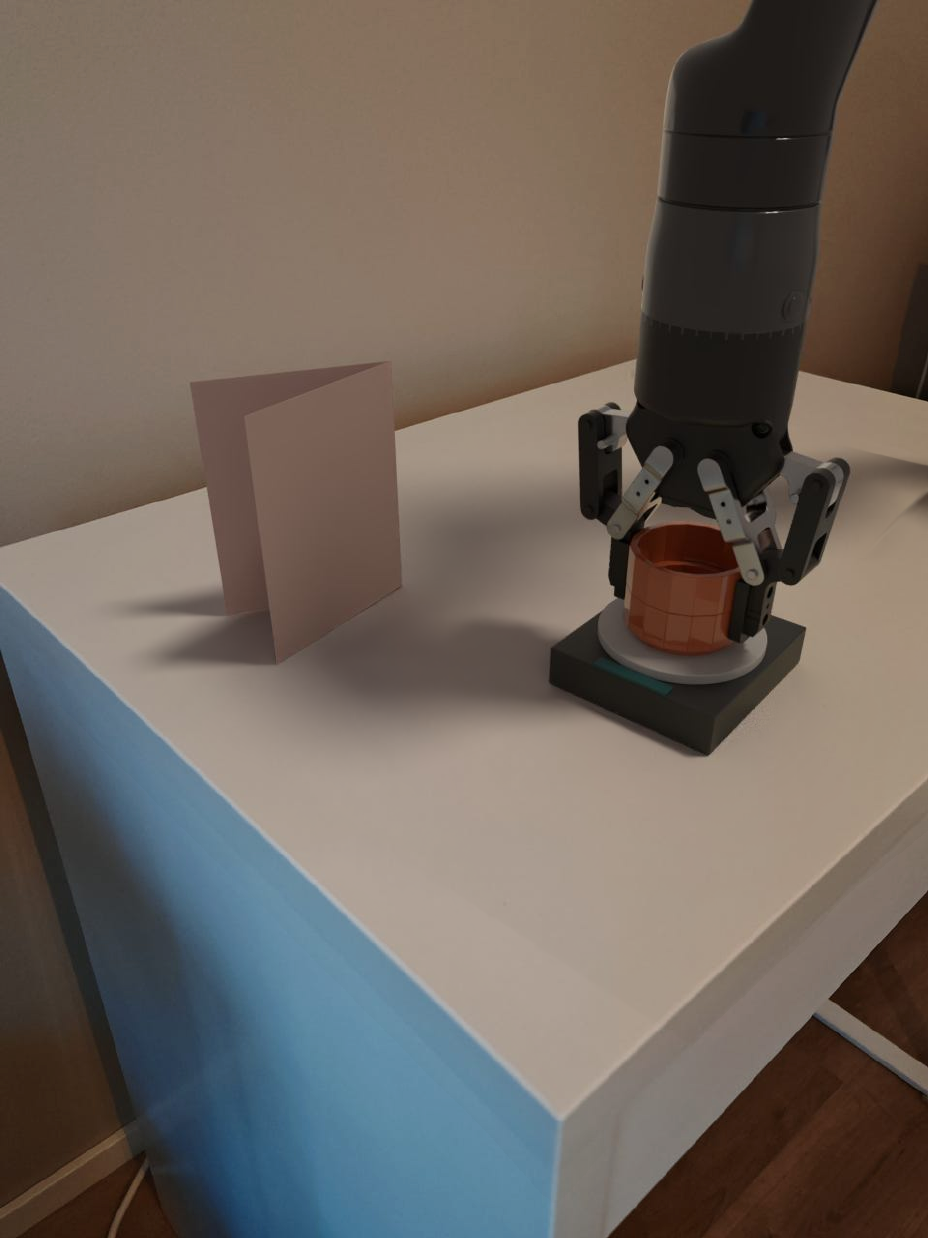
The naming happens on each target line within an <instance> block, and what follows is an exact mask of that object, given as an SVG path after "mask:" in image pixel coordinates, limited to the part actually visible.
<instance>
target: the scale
mask: <svg viewBox="0 0 928 1238" xmlns="http://www.w3.org/2000/svg"><path fill="white" fill-rule="evenodd" d="M624 601H625V600H622V599H620V598H617V597H616V598H615V599H613V600H612V601H610V602H609V603H608V604H607V605H606V606H605V607H604V608H603V609H602V610H601V611H599V612H598V613H596V614H595V615H594V616H593V617H591V618H590V619H588V620H586V621H585V622H584V623H583V624H581V625H580V626H579V627H577V628H576V629H575V630H573V631H572V632H570V633H569V634H568V635H566V636H565V637H563V638H562V639H561V640H559V641H557V643H555V644H554V645H553V646H551V647H550V649H549V651H550V652H549V654H550V655H549V671H548V672H549V673H548V683H549V684H551V685H553V686H555V687H558V688H559V689H562V690H564V691H566V692H569V693H571V694H573V695H574V696H577V697H580V698H582V699H584V700H586V701H588V702H590V703H593V704H595V705H597V706H600V707H601V708H604V709H606V710H608V711H610V712H612V713H614V714H617V715H618V716H621V717H623V718H626V719H628V720H630V721H632V722H634V723H637V724H639V725H641V726H643V727H645V728H647V729H649V730H651V731H653V732H656V733H659V734H660V735H663V736H665V737H667V738H669V739H672V740H673V741H675V742H678V743H680V744H682V745H684V746H687V747H689V748H692V749H694V750H696V751H697V752H700V753H703V754H704V755H707V756H710V755H711V754H712V753H713V752H714V751H715V750H716V749H717V747H718V746H719V745H720V744H721V743H722V742H723V741H724V740H725V739H726V738H727V737H728V736H729V735H730V734H731V733H732V732H733V731H734V730H735V729H736V728H737V727H738V726H739V725H740V724H741V723H742V722H743V721H744V719H745V718H746V717H748V715H749V714H750V713H751V712H753V710H754V709H755V708H756V707H757V706H758V705H759V704H760V703H761V702H762V701H763V700H764V699H765V698H766V697H767V696H768V695H769V694H770V692H772V691H773V689H775V687H777V685H779V683H781V681H782V680H783V679H784V678H785V677H786V676H787V675H788V674H789V673H790V672H791V671H792V670H793V669H794V668H795V667H796V666H797V665H798V664H799V663H800V661H801V656H802V652H803V647H804V641H805V637H806V632H807V627H806V626H804V625H801V624H799V623H795V622H792V621H790V620H787V619H784V618H782V617H779V616H776V615H773V614H771V618H770V621H769V622H768V623H767V625H766V626H765V627H764V628H763V629H762V630H761V631H760V632H759V633H757V634H756V635H755V636H754V637H749V638H748V639H747V640H746V641H745V642H744V643H743V644H740V643H737V642H733V643H732V644H731V645H729V646H726V647H724V648H723V649H721V650H719V651H716V652H713V653H710V654H705V655H696V656H686V655H676V654H671V653H666V652H663V651H660V650H657V649H655V648H652V647H650V646H648V645H647V644H645V643H643V642H642V641H641V640H640V639H639V638H637V636H636V635H635V634H634V633H632V632H631V631H630V630H629V629H628V627H627V624H626V622H625V620H624V617H623V611H624Z"/></svg>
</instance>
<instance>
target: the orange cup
mask: <svg viewBox="0 0 928 1238" xmlns="http://www.w3.org/2000/svg"><path fill="white" fill-rule="evenodd" d="M740 578H742V575H741V572H740V569H739V566H738V563H737V560H736V557H735V555H734V552H733V549H732V547H731V546H730V545H728V544H726V543H725V541H724V539H723V537H722V534H721V531H720V528H719V526H717V525H714V524H710V523H704V522H696V521H695V522H694V521H689V520H688V521H685V520H683V521H665V522H660V523H656V524H652V525H649V526H646V527H645V526H644V529H642V530H641V531H639V532H638V533H636V534H635V535H634V536H633V538H632V541H631V543H630V546H629V557H628V568H627V579H626V590H625V601H624V611H623V617H624V620H625V622H626V624H627V627H628V629H629V630H630V631H631V632H632V633H634V634H635V635H636V636H637V638H639V639H640V640H641V641H642V642H643V643H645V644H647V645H648V646H650V647H652V648H655V649H657V650H660V651H663V652H666V653H671V654H676V655H686V656H696V655H705V654H710V653H713V652H716V651H719V650H721V649H723V648H724V647H726V646H729V645H731V644H732V643H733V642H734V641H732V640H729V639H728V633H729V627H730V621H731V615H732V608H733V602H734V596H735V590H736V584H737V581H738V580H739V579H740Z"/></svg>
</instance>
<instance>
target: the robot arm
mask: <svg viewBox="0 0 928 1238" xmlns="http://www.w3.org/2000/svg"><path fill="white" fill-rule="evenodd" d="M880 1H881V0H751V1H750V3H749V6H748V8H747V10H746V12H745V15H744V17H743V19H742V21H740V24H738V26H737V27H736V28H735V29H733V30H732V31H730V32H728V33H725V34H724V35H721V36H720V35H719V36H717V37H714V38H711V39H707V40H705V41H704V40H703V41H702V42H699V43H697V44H695V45H692V46H691V47H690V48H687V49H686V50H685V51H684V52H683V53H681V54H680V56H679V57H678V58H677V59H676V61H675V64H674V65H673V68H672V69H671V73H670V76H669V80H668V84H667V91H666V95H665V104H664V113H663V121H662V122H663V123H662V126H663V128H662V139H661V148H660V158H659V159H660V160H659V171H658V180H657V181H658V183H657V191H656V192H657V196H656V199H655V206H654V213H653V216H652V222H651V226H650V230H649V235H648V239H647V245H646V252H645V259H644V270H643V275H642V279H641V293H642V294H641V302H640V314H639V316H640V317H639V327H638V338H637V348H636V350H637V351H636V358H635V359H636V360H635V369H634V370H635V372H634V381H633V382H634V384H633V393H634V396H635V398H636V402H635V405H634V407H633V409H632V411H628V410H622V409H621V406H620V405H618V404H617V403H616V402H613V401H609V402H606V403H605V404H602V405H601V404H600V405H598V406H597V407H595V408H592V409H591V410H589V411H587V412H584V413H583V414H582V415H580V416H579V417H578V420H577V438H578V439H577V441H578V442H577V443H578V445H577V446H578V479H579V481H578V482H579V484H578V485H579V510H580V513H581V515H582V516H583V518H584V519H586V520H589V521H594V520H597V521H598V522H600V523H601V524H603V526H605V527H606V531H607V534H608V535H609V536H610V537H611V538H610V546H609V547H610V549H609V561H608V571H607V572H608V573H607V578H608V582H609V585H610V586H612V587H613V597H614V598H616V599H617V598H620V599H622V600H625V590H626V579H627V568H628V557H629V546H630V543H631V541H632V538H633V536H634V535H635V534H636V533H638V532H639V531H641V530H642V529H644V528H645V524H647V523H648V521H649V520H650V519H651V517H652V516H653V515H654V513H655V511H657V510H658V508H659V506H660V505H661V504H663V505H666V506H670V507H673V508H688V509H690V510H692V511H693V512H695V513H697V514H698V515H700V516H702V517H705V518H707V519H708V518H709V519H712V520H715V521H716V522H717V524H718V527H719V528H720V531H721V534H722V537H723V539H724V541H725V543H726V544H728V545H730V546H731V547H732V549H733V552H734V555H735V557H736V560H737V563H738V566H739V569H740V572H741V575H742V578H740V579H739V580H738V581H737V584H736V590H735V596H734V602H733V608H732V615H731V621H730V627H729V633H728V639H729V640H732V641H734V642H737V643H740V644H743V643H744V642H745V641H746V640H747V639H748V638H749V637H754V636H755V635H756V634H757V633H759V632H760V631H761V630H762V629H763V628H764V627H765V626H766V625H767V623H768V622H769V621H770V618H771V615H772V613H773V612H772V611H773V607H774V601H775V596H776V590H777V585H778V583H782V584H783V585H785V586H790V587H792V586H796V585H798V584H799V583H800V582H801V581H802V580H803V579H805V578H806V577H807V576H808V575H809V574H810V573H811V572H813V570H815V568H816V567H818V566H819V565H820V563H821V562H822V559H823V556H824V553H825V550H826V546H827V544H828V540H829V537H830V535H831V531H832V528H833V526H834V523H835V519H836V517H837V514H838V511H839V507H840V504H841V501H842V498H843V495H844V492H845V489H846V486H847V483H848V480H849V477H850V473H851V467H850V465H849V463H848V461H846V460H845V459H843V458H841V457H837V456H835V457H831V458H830V459H828V460H827V461H826V462H825V461H821V460H819V459H816V458H812V457H810V456H806V455H804V454H801V453H798V452H795V451H794V448H793V444H792V442H791V441H792V440H791V438H790V433H789V421H790V417H791V413H792V409H793V405H794V400H795V394H796V388H797V384H798V383H797V382H798V377H799V372H800V366H801V360H802V355H803V349H804V344H805V338H806V332H807V326H808V321H809V315H810V312H811V311H810V309H811V305H812V299H813V293H814V288H815V281H816V277H817V271H818V263H819V256H820V245H821V244H820V241H821V219H822V218H821V217H822V210H823V202H822V200H823V199H824V197H825V191H826V184H827V179H828V174H829V168H830V161H831V155H832V150H833V144H834V139H835V130H836V127H837V120H838V114H839V108H840V104H841V99H842V96H843V94H844V90H845V87H846V84H847V82H848V79H849V76H850V74H851V72H852V70H853V67H854V65H855V62H856V60H857V57H858V56H859V53H860V50H861V48H862V46H863V43H864V40H865V38H866V36H867V33H868V31H869V29H870V26H871V24H872V21H873V18H874V16H875V13H876V11H877V9H878V6H879V4H880ZM627 442H629V444H630V446H631V448H632V450H633V452H634V455H635V457H636V459H637V460H638V463H639V464H640V467H641V469H640V471H639V472H638V473H637V475H636V476H635V478H634V479H633V481H632V482H631V484H630V485H629V486H628V488H627V490H626V491H625V492H624V494H623V447H624V446H625V445H626V444H627ZM780 476H782V477H783V478H784V479H785V480H786V482H787V483H788V499H789V502H790V503H791V504H794V505H796V506H795V510H794V513H793V516H792V519H791V522H790V527H789V530H788V533H787V536H786V539H785V542H784V546H783V547H782V543H781V541H780V538H779V535H778V531H777V528H776V521H777V512H776V509H775V505H774V502H773V499H772V496H771V493H770V490H769V486H770V485H771V484H772V483H773V482H775V480H776V479H778V478H779V477H780ZM744 507H745V513H744V511H743V508H744Z"/></svg>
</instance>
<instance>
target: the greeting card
mask: <svg viewBox="0 0 928 1238" xmlns="http://www.w3.org/2000/svg"><path fill="white" fill-rule="evenodd" d="M392 367H393V366H392V360H386V361H385V360H384V361H375V362H365V363H357V364H347V365H337V366H329V367H320V368H318V367H317V368H309V369H299V370H291V371H281V372H272V373H264V374H263V373H262V374H253V375H245V376H236V377H226V378H217V379H207V380H197V381H196V380H195V381H189V387H190V393H191V399H192V406H193V412H194V417H195V424H196V430H197V437H198V444H199V449H200V455H201V460H202V467H203V473H204V479H205V480H204V481H205V486H206V492H207V497H208V505H209V510H210V517H211V524H212V528H213V535H214V542H215V547H216V553H217V560H218V566H219V573H220V578H221V585H222V591H223V597H224V604H225V610H226V616H227V617H228V616H233V615H238V614H245V613H250V612H256V611H262V610H268V609H269V616H270V623H271V630H272V631H271V632H272V639H273V646H274V655H275V661H276V665H280V664H281V663H283V662H284V661H286V660H287V659H289V658H290V657H292V656H293V655H295V654H296V653H298V652H300V651H301V650H303V649H304V648H306V647H308V646H309V645H311V644H313V643H314V642H316V641H317V640H319V639H320V638H322V637H324V636H325V635H326V634H328V633H330V632H332V631H333V630H335V629H336V628H338V627H339V626H341V625H342V624H344V623H346V622H347V621H349V620H350V619H352V618H353V617H355V616H356V615H358V614H360V613H361V612H363V611H364V610H366V609H368V608H369V607H371V606H372V605H374V604H375V603H377V602H379V601H381V600H382V599H383V598H385V597H387V596H388V595H390V594H391V593H393V592H394V591H396V590H398V589H399V588H400V587H402V586H403V575H402V574H403V573H402V553H401V551H402V550H401V532H400V531H401V529H400V513H399V511H400V509H399V491H398V489H399V488H398V471H397V470H398V469H397V451H396V449H397V448H396V447H397V446H396V430H395V429H396V427H395V409H394V388H393V387H394V385H393V371H392V370H393V369H392Z"/></svg>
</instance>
